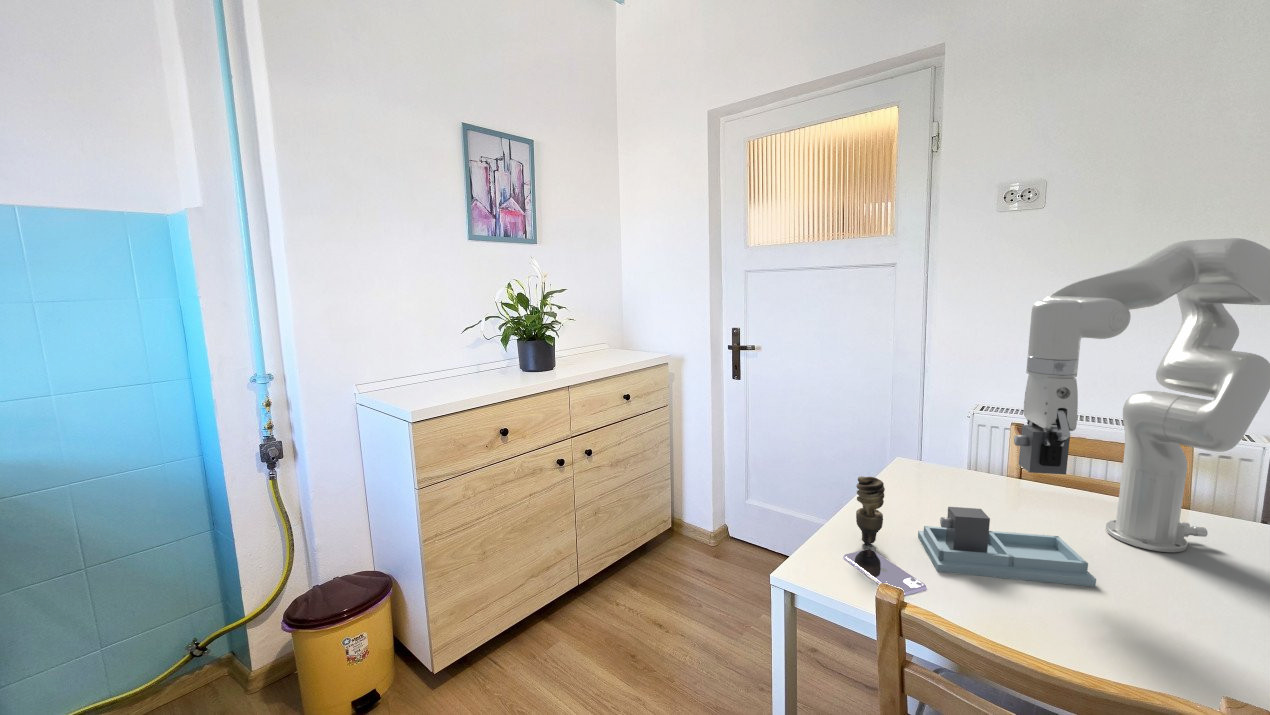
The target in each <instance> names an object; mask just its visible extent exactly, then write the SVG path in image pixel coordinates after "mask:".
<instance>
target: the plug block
mask: <svg viewBox="0 0 1270 715" xmlns="http://www.w3.org/2000/svg"><path fill="white" fill-rule="evenodd" d="M1051 427H1052V428H1051V429H1058V428H1057V426H1051ZM1020 432H1021V434H1019V435H1018V434H1015V435H1014V437H1013V443H1014V446H1016V447H1017V446H1018V447H1019V454H1018V465H1019V466H1020V467H1022V468H1023V469H1024V470H1025V471H1027V472H1028V473H1030V474H1031V473H1034V474H1047V475H1049V474H1053V475H1067V469H1068V460H1069V459H1068V458H1069V452H1070V439H1071V436H1070V437H1069V438H1067V439H1066V440H1065V441H1064V446H1063V447H1062V455H1061V465H1060V466H1042V465H1040V463H1039V462H1040V451H1041V444H1044V433H1043V428H1042V427H1040V426H1038V425H1028V424H1022V425H1021V431H1020ZM1056 433H1057V432H1050V437H1051V436H1052V435H1053V434H1056Z"/></svg>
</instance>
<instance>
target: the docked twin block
mask: <svg viewBox="0 0 1270 715" xmlns="http://www.w3.org/2000/svg"><path fill="white" fill-rule="evenodd" d="M939 521H940V522H939V523H940V524H939V525H940V527H942V528H947V531H946V544H947V546H948V547H949V549H950V550H959V551H970V552H982V553H987V549H988V537H989V531H990V522H991V518H990V517H989V516H988V515H987V514H986V512H984V510H983V509H982V508H976V507H975V508H973V507H961V506H960V507H958V506H948V507H947V517H944V516H942V517H940V519H939Z"/></svg>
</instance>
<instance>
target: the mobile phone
mask: <svg viewBox="0 0 1270 715" xmlns="http://www.w3.org/2000/svg"><path fill="white" fill-rule="evenodd" d="M842 558H843V560H845V561H846V560H847V561H849V562H850V563H851V564H852V565H851V564H850V563H849V562H848V563H849V564H850V565H851V566H853V565H854V566H855V567H857V568H858V569H859V570H858V569H857V568H856V569H857V570H858V571H860V570H861V571H862V572H864V573H866V574H867V575H869V576H871V577H872V578H874V579H876V580H877V582H878V583H888V584H890V585H893V586H896V587H900V588H902V589H903V590H904V593H905V596H909V595H912V594H917V593H920V592H924V591H926V590H927V585H926V584H925V583H924V582H923V581H920V580H919V579H917V578H916V577H914V576H913V575H911V574H910V573H909V572H907V571H906V570H904V569H902V568H901V567H899V566H898V565H896V564H895V563H894V562H892V561H890V560H889V559H887V558H886V557H884V556H882V555H881V554H880V553H878V552H876V551H875V550H873V549H869V548H868V549H864V550H858V551H853V552H849V553H845V554H844V555H842ZM847 561H846V562H847ZM854 566H853V567H854ZM855 567H854V568H855ZM861 571H860V572H861ZM862 572H861V573H862ZM864 573H863V574H864ZM886 581H887V582H886Z"/></svg>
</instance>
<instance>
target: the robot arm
mask: <svg viewBox="0 0 1270 715" xmlns="http://www.w3.org/2000/svg"><path fill="white" fill-rule="evenodd" d="M1174 295H1176V297H1177V300H1178V305H1179V308H1180V313H1181V323H1180V325H1179V326H1180V327H1179V329H1178V331H1177V332H1176V334H1175V337H1174V338H1173V340H1172V342H1171V343H1170V345H1169V347H1168V348H1167V350H1166V352H1165V354H1164V355H1163V357H1162V359H1161V360H1160V362H1159V365H1158V366H1157V369H1156V371H1155V377H1156V378H1155V379H1156V381H1157V382H1158V384H1159V385H1161V386H1162V387H1163V388H1165V389H1168V390H1172V391H1175V392H1180V393H1183V394H1184V393H1185V394H1190V395H1196V396H1202V397H1208V398H1214V399H1213V400H1210V399H1206V398H1200V397H1193V396H1189V395H1185V394H1184V395H1183V394H1177V393H1171V392H1168V391H1167V392H1165V391H1160V390H1159V391H1158V390H1144V391H1138V392H1136V393H1133V394H1131V395H1130V396H1129V397H1128V398H1127V399H1126V400H1125V401H1124V404H1123V407H1122V421H1123V422H1122V423H1123V428H1124V452H1123V454H1124V455H1123V463H1122V469H1121V470H1122V471H1121V477H1120V486H1119V492H1118V493H1119V494H1118V503H1117V509H1116V510H1117V511H1116V519H1113V520H1110V521H1108V522H1106V523H1105V531H1106V532H1107V534H1109V535H1110V536H1111V537H1113V538H1114V539H1117V540H1118V541H1121V542H1123V543H1125V544H1128V545H1131V546H1134V547H1137V548H1140V549H1145V550H1147V551H1154V552H1161V553H1179V552H1180V553H1181V552H1184V551H1186V550H1187V548H1188V541H1187V540H1186V539H1185V538H1188V537H1189V536H1193V537H1200V538H1201V537H1203V538H1206V537H1207V536H1208V535H1209V534H1208V533H1209V532H1208V530H1207V528H1205V527H1203V526H1193V525H1192V526H1191V525H1190V523H1189V522H1185V521H1181V520H1180V519H1181V514H1182V506H1183V500H1184V493H1185V484H1186V477H1187V472H1188V460H1187V456H1186V454H1185V452H1184V450H1183V448H1182V446H1181V445H1183V446H1187V447H1191V448H1194V449H1195V448H1196V449H1199V450H1204V451H1208V452H1214V453H1222V452H1223V453H1224V452H1227V451H1229V450H1232V449H1234V448H1235V447H1236V446H1237V445H1238V444H1239V443H1240V442H1241V440H1242V439H1243V437H1244V436H1245V434H1246V433H1247V431H1248V429H1249V427H1250V425H1251V424H1252V422H1253V420H1254V419H1255V417H1256V415H1257V414H1258V413H1259V412H1258V411H1259V410H1260V408H1261V407H1262V404H1263V403H1264V401H1265V400H1266V398H1267V396H1268V394H1269V392H1270V361H1269V360H1267V358H1265V357H1264V356H1261V355H1260V354H1257V353H1253V352H1247V351H1246V352H1245V351H1239V350H1233V348H1234V346H1235V345H1236V342H1237V340H1238V339H1239V336H1240V329H1239V326H1238V324H1237V321H1236V319H1235V318H1233V316H1232V315H1231V314H1230V313H1229V311H1228V310H1227V309H1226V307H1225V305H1248V306H1249V305H1250V306H1252V305H1253V306H1270V248H1267V247H1266V246H1264V245H1262V244H1260V243H1257V242H1256V241H1252V240H1249V239H1244V238H1238V237H1237V238H1236V237H1235V238H1234V237H1233V238H1232V237H1231V238H1213V239H1212V238H1210V239H1191V240H1190V239H1189V240H1182V241H1177V242H1174V243H1171V244H1168V245H1166V246H1165V247H1163V248H1160V249H1159V250H1157V251H1156V252H1153V253H1152V254H1151V255H1149V256H1147V257H1145V258H1143V259H1141V260H1140V261H1137V262H1136V263H1134V264H1133V265H1131V266H1129V267H1125V268H1121V269H1118V270H1115V271H1111V272H1110V271H1109V272H1107V273H1103V274H1100V275H1096V276H1093V277H1089V278H1086V279H1081V280H1078V281H1076V282H1073V283H1070V284H1068V285H1065V286H1063V287H1061V288H1060V289H1058V290H1056V291H1055V292H1052V293H1051V294H1049V295H1048V296H1046V297H1045V298H1044V299H1043V300H1039V301H1036V302H1034V304H1033V305H1032V307H1031V316H1030V324H1029V325H1030V327H1029V336H1028V346H1027V347H1028V348H1027V359H1026V372H1025V373H1026V374H1028V377H1027V380H1026V381H1027V382H1026V385H1025V386H1026V387H1025V392H1024V401H1023V415H1024V417H1025V418H1026V421H1027V422H1026V425H1038V426H1040V427H1042V428H1043V433H1044V444H1041V451H1040V462H1039V463H1040V465H1042V466H1060V465H1061V455H1062V447H1063V446H1064V441H1065V440H1066V439H1067V438H1069V437H1070V438H1071V432H1073V431H1075V430H1076V429H1077V425H1078V409H1079V408H1078V406H1079V405H1078V404H1079V403H1078V402H1079V401H1078V398H1079V396H1078V395H1079V394H1078V382H1077V376H1078V369H1079V361H1080V360H1079V358H1080V350H1081V340H1082V339H1093V340H1094V339H1095V340H1106V339H1112V338H1114V337H1117V336H1119V335H1121V334H1122V333H1123V332H1125V330H1126V329H1127V328H1128V327H1129V325H1130V322H1131V317H1132V316H1131V311H1130V310H1137V309H1138V310H1139V309H1145V308H1150V307H1154V306H1156V305H1160V304H1161V303H1163V302H1164V301H1166V300H1168V299H1169V298H1171V297H1173V296H1174ZM1224 304H1225V305H1224ZM1051 426H1057V428H1058V429H1051V428H1052V427H1051ZM1050 432H1057V433H1056V434H1053V435H1052V436H1051V437H1050Z"/></svg>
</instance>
